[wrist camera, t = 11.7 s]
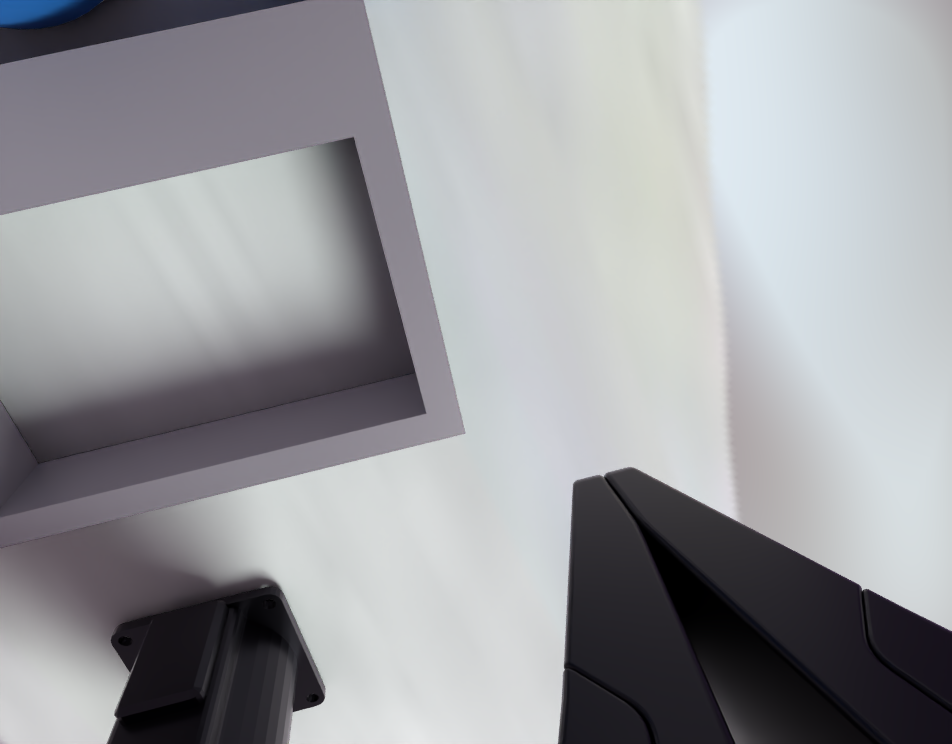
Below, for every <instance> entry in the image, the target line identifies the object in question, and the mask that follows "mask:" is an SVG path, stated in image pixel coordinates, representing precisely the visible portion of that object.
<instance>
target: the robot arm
mask: <svg viewBox="0 0 952 744" xmlns="http://www.w3.org/2000/svg"><path fill="white" fill-rule="evenodd" d="M266 599H272V600H274V601H270V602H269V601H266ZM124 636H128V637H130V638H127V637H124ZM111 643H112V645H113V647H114V648H115V650H116V651H117V653H118V655H119V656H120V658H121V659H122V661H123V662H124V664H125V666H126V667H127V669H128V670H129V672H130V675H129V677H128V680H127V682H126V685H125V687H124V690H123V692H122V695H121V697H120V700H119V702H118V705H117V707H116V710H115V717H116V718H117V719H116V721H115V724H114V726H113V729H112V731H111V734H110V737H109V739H108V742H107V744H289V738H290V730H291V721H292V713H293V712H295V711H299V710H302V709H306V708H310V707H314V706H317V705H319V704H321V703H322V702H323V701H324V699H325V686H324V684H323V681H322V679H321V677H320V675H319V672H318V670H317V668H316V666H315V663H314V661H313V659H312V657H311V654H310V652H309V650H308V648H307V645H306V643H305V641H304V639H303V636H302V634H301V632H300V630H299V627H298V625H297V623H296V621H295V618H294V616H293V614H292V612H291V609H290V607H289V605H288V603H287V600H286V598H285V596H284V594H283V592H282V591H281V590H280V589H278V588H276V587H265V588H261V589H257V590H253V591H249V592H245V593H241V594H237V595H233V596H229V597H226V598H222V599H218V600H214V601H210V602H206V603H202V604H198V605H194V606H190V607H186V608H182V609H178V610H175V611H171V612H167V613H163V614H159V615H155V616H151V617H147V618H143V619H139V620H135V621H131V622H127V623H124V624H121V625H119V626H118V627H117V628H116V629H115V631H114V633H113V635H112V638H111ZM564 669H565V670H564V672H563V689H562V705H561V716H560V727H559V739H558V744H952V631H950V630H948V629H945V628H944V627H942V626H940V625H938V624H936V623H934V622H932V621H930V620H928V619H926V618H924V617H921V616H919V615H918V614H916V613H913V612H911V611H909V610H908V609H905V608H903V607H901V606H899V605H897V604H896V603H894V602H892V601H890V600H888V599H886V598H884V597H882V596H880V595H878V594H876V593H874V592H872V591H870V590H869V589H865V590H863V591H862V588H861V586H860V585H859V584H857V583H855V582H853V581H851V580H849V579H847V578H845V577H843V576H841V575H839V574H837V573H835V572H833V571H832V570H830V569H828V568H826V567H824V566H822V565H820V564H818V563H816V562H814V561H812V560H810V559H809V558H806V557H805V556H803V555H801V554H799V553H797V552H795V551H793V550H791V549H789V548H787V547H785V546H784V545H782V544H780V543H778V542H776V541H774V540H772V539H770V538H768V537H766V536H764V535H763V534H760V533H759V532H756V531H755V530H753V529H751V528H749V527H747V526H745V525H743V524H741V523H739V522H738V521H736V520H734V519H732V518H730V517H728V516H726V515H724V514H722V513H720V512H718V511H716V510H714V509H713V508H711V507H709V506H707V505H705V504H703V503H701V502H699V501H697V500H695V499H693V498H691V497H689V496H688V495H686V494H684V493H682V492H680V491H678V490H676V489H674V488H672V487H670V486H668V485H666V484H665V483H663V482H661V481H659V480H657V479H655V478H653V477H651V476H649V475H647V474H645V473H643V472H641V471H640V470H638V469H635V468H632V467H628V468H624V469H620V470H616V471H612V472H608V473H606V474H605V475H604V477H603V476H600V475H596V476H592V477H588V478H584V479H580V480H577V481H575V482H574V484H573V496H572V516H571V536H570V556H569V576H568V596H567V616H566V636H565V657H564Z"/></svg>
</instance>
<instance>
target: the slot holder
mask: <svg viewBox="0 0 952 744" xmlns="http://www.w3.org/2000/svg"><path fill="white" fill-rule="evenodd" d="M352 137H354V140H355V144H356V148H357V151H358V155H359V159H360V163H361V167H362V170H363V174H364V178H365V182H366V186H367V189H368V193H369V197H370V201H371V204H372V208H373V212H374V216H375V220H376V223H377V227H378V231H379V235H380V239H381V242H382V246H383V250H384V254H385V258H386V261H387V265H388V269H389V273H390V277H391V280H392V284H393V288H394V292H395V296H396V299H397V303H398V307H399V311H400V315H401V318H402V322H403V326H404V330H405V334H406V337H407V341H408V345H409V349H410V353H411V356H412V360H413V364H414V368H415V372H416V373H413V374H409V375H405V376H401V377H396V378H392V379H388V380H384V381H380V382H376V383H371V384H367V385H363V386H359V387H355V388H351V389H347V390H342V391H338V392H334V393H330V394H326V395H322V396H317V397H313V398H309V399H305V400H301V401H297V402H293V403H288V404H284V405H280V406H276V407H272V408H268V409H263V410H259V411H255V412H251V413H247V414H243V415H238V416H234V417H230V418H226V419H222V420H218V421H214V422H209V423H205V424H201V425H197V426H193V427H189V428H184V429H180V430H176V431H172V432H168V433H164V434H160V435H155V436H151V437H147V438H143V439H139V440H135V441H130V442H126V443H122V444H118V445H114V446H110V447H105V448H101V449H97V450H93V451H89V452H85V453H81V454H76V455H72V456H68V457H64V458H60V459H56V460H51V461H47V462H43V463H39V464H38V462H37V460H36V459H35V457H34V455H33V454H32V452H31V451H30V449H29V447H28V446H27V444H26V442H25V441H24V439H23V437H22V436H21V434H20V432H19V431H18V429H17V427H16V426H15V424H14V422H13V421H12V419H11V417H10V416H9V414H8V412H7V411H6V409H5V407H4V406H3V404H2V402H1V401H0V548H3V547H7V546H11V545H15V544H19V543H23V542H27V541H31V540H35V539H39V538H43V537H47V536H52V535H56V534H60V533H64V532H68V531H72V530H76V529H80V528H84V527H88V526H92V525H96V524H100V523H104V522H108V521H112V520H116V519H120V518H125V517H129V516H133V515H137V514H141V513H145V512H149V511H153V510H157V509H161V508H165V507H169V506H173V505H177V504H181V503H185V502H189V501H194V500H198V499H202V498H206V497H210V496H214V495H218V494H222V493H226V492H230V491H234V490H238V489H242V488H246V487H250V486H254V485H258V484H262V483H267V482H271V481H275V480H279V479H283V478H287V477H291V476H295V475H299V474H303V473H307V472H311V471H315V470H319V469H323V468H327V467H331V466H336V465H340V464H344V463H348V462H352V461H356V460H360V459H364V458H368V457H372V456H376V455H380V454H384V453H388V452H392V451H396V450H400V449H404V448H409V447H413V446H417V445H421V444H425V443H429V442H433V441H437V440H441V439H445V438H449V437H453V436H457V435H461V434H465V429H464V425H463V421H462V417H461V413H460V408H459V404H458V400H457V396H456V391H455V387H454V383H453V379H452V374H451V370H450V366H449V362H448V357H447V353H446V349H445V345H444V340H443V336H442V332H441V328H440V323H439V319H438V315H437V311H436V306H435V302H434V298H433V294H432V289H431V285H430V281H429V277H428V272H427V268H426V264H425V260H424V255H423V251H422V247H421V243H420V238H419V234H418V230H417V226H416V221H415V217H414V213H413V209H412V204H411V200H410V196H409V192H408V187H407V183H406V179H405V175H404V170H403V166H402V162H401V158H400V153H399V149H398V145H397V141H396V136H395V132H394V128H393V124H392V119H391V115H390V111H389V107H388V102H387V98H386V94H385V90H384V85H383V81H382V77H381V73H380V69H379V64H378V60H377V56H376V52H375V47H374V43H373V39H372V35H371V30H370V26H369V22H368V18H367V13H366V9H365V5H364V1H363V0H306V1H302V2H297V3H292V4H287V5H282V6H278V7H273V8H268V9H263V10H259V11H254V12H249V13H244V14H239V15H235V16H230V17H225V18H220V19H215V20H211V21H206V22H201V23H196V24H191V25H187V26H182V27H177V28H172V29H168V30H163V31H158V32H153V33H148V34H144V35H139V36H134V37H129V38H124V39H120V40H115V41H110V42H105V43H101V44H96V45H91V46H86V47H81V48H77V49H72V50H67V51H62V52H57V53H53V54H48V55H43V56H38V57H33V58H29V59H24V60H19V61H14V62H10V63H5V64H0V215H3V214H7V213H12V212H16V211H21V210H25V209H30V208H34V207H39V206H43V205H48V204H53V203H57V202H62V201H66V200H71V199H75V198H80V197H84V196H89V195H93V194H98V193H102V192H107V191H111V190H116V189H121V188H125V187H130V186H134V185H139V184H143V183H148V182H152V181H157V180H161V179H166V178H170V177H175V176H179V175H184V174H189V173H193V172H198V171H202V170H207V169H211V168H216V167H220V166H225V165H229V164H234V163H238V162H243V161H247V160H252V159H257V158H261V157H266V156H270V155H275V154H279V153H284V152H288V151H293V150H297V149H302V148H306V147H311V146H315V145H320V144H325V143H329V142H334V141H338V140H343V139H347V138H352Z"/></svg>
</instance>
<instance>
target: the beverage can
mask: <svg viewBox="0 0 952 744" xmlns="http://www.w3.org/2000/svg"><path fill="white" fill-rule="evenodd" d="M102 1H103V0H0V27H2V28H12V29H42V28H47V27H53V26H58V25H61V24H64V23H67V22H69V21H72V20H75V19H77V18H78V17H80V16H82V15H84V14H86V13H88V12H89V11H91V10H92V9H93V8H94V7H96V6H97V5H98V4H99V3H101V2H102Z"/></svg>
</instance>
